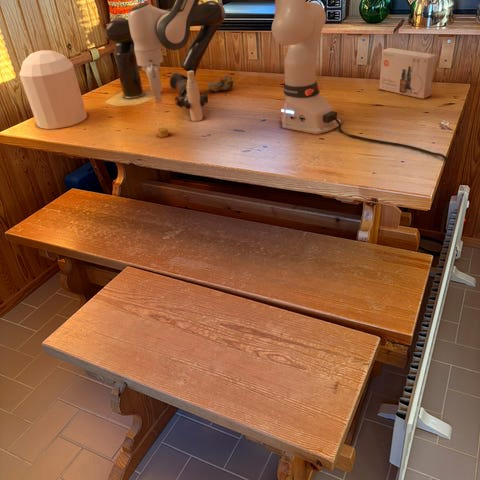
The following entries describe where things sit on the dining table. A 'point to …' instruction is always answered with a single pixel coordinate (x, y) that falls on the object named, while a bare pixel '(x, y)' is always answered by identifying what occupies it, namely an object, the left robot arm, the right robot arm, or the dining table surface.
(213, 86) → the rock
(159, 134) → the cap
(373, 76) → the dining table surface
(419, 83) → the skincare box
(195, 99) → the bottle
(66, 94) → the container
